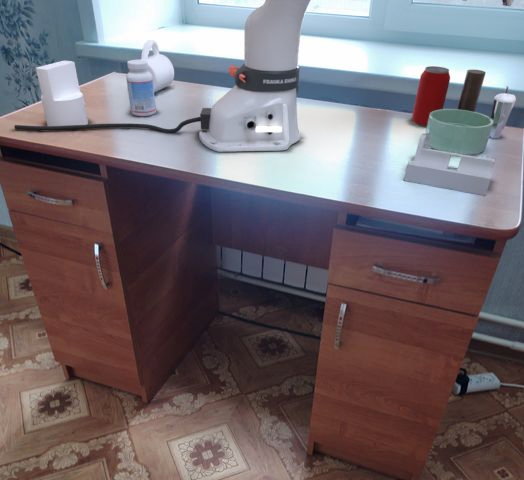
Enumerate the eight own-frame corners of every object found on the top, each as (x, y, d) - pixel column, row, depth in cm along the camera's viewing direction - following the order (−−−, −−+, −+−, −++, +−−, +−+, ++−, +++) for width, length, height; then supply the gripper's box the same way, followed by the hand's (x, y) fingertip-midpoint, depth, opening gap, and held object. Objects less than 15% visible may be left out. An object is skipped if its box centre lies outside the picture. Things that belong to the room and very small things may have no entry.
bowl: (445, 159, 105) (453, 129, 102) (411, 139, 115) (417, 111, 111) (497, 153, 109) (506, 124, 105) (460, 134, 118) (467, 107, 114)
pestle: (458, 133, 119) (474, 74, 111) (446, 127, 122) (460, 69, 114) (475, 131, 120) (492, 73, 112) (462, 125, 124) (478, 68, 116)
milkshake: (503, 133, 120) (518, 87, 113) (503, 140, 116) (519, 93, 110) (483, 130, 121) (497, 85, 114) (483, 137, 117) (497, 90, 111)
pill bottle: (161, 112, 124) (156, 61, 117) (144, 118, 121) (138, 65, 113) (143, 108, 127) (137, 57, 120) (125, 113, 123) (118, 61, 116)
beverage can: (436, 120, 126) (449, 66, 119) (440, 128, 121) (454, 73, 113) (409, 118, 127) (420, 64, 119) (412, 126, 122) (424, 71, 114)
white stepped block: (66, 115, 121) (54, 58, 113) (96, 121, 118) (86, 63, 110) (38, 125, 114) (23, 66, 106) (69, 132, 112) (56, 71, 104)
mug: (130, 93, 137) (124, 42, 129) (149, 85, 144) (144, 36, 136) (158, 97, 135) (153, 45, 127) (175, 88, 142) (172, 39, 134)
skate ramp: (403, 180, 96) (409, 153, 93) (416, 158, 105) (422, 133, 102) (485, 196, 92) (494, 168, 88) (491, 171, 101) (500, 145, 98)
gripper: (547, -76, 85) (546, -9, 97) (439, -80, 96) (450, -19, 108) (526, -43, 86) (527, 21, 98) (421, -50, 96) (434, 8, 108)
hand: (486, 0), depth 103 cm, fingers open, 8 cm apart
